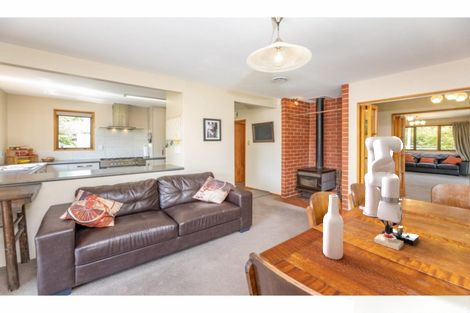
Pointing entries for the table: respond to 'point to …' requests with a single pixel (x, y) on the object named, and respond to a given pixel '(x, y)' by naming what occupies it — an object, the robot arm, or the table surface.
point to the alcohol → (333, 230)
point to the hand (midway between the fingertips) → (388, 233)
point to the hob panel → (405, 237)
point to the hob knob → (400, 230)
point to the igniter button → (388, 235)
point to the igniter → (388, 241)
